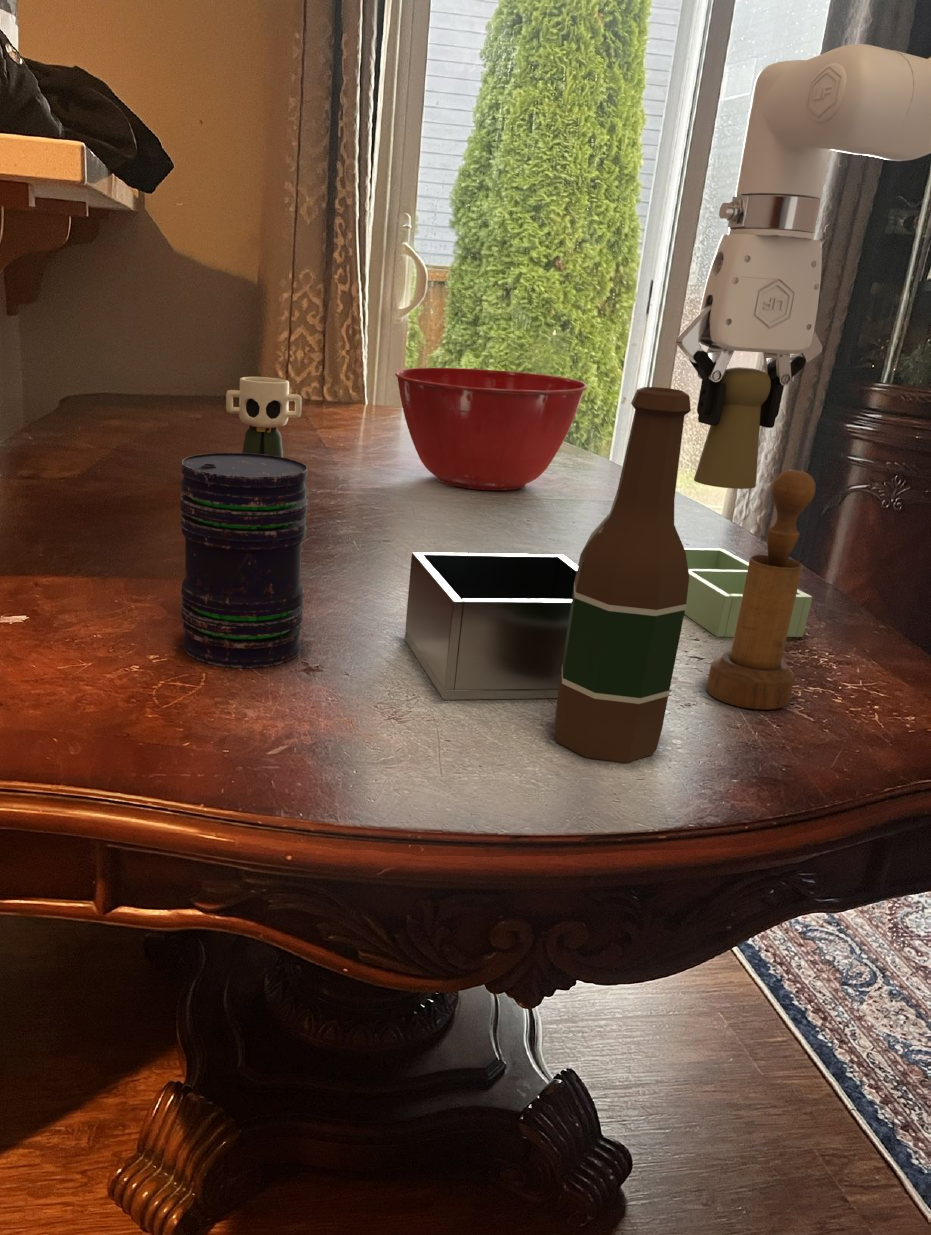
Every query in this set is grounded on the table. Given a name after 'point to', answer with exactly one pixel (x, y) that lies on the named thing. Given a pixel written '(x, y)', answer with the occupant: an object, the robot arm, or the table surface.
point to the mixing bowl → (487, 423)
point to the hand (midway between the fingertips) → (735, 422)
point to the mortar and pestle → (766, 610)
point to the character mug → (263, 412)
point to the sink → (490, 622)
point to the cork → (735, 432)
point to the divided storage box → (727, 592)
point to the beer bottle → (628, 598)
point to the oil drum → (242, 558)
